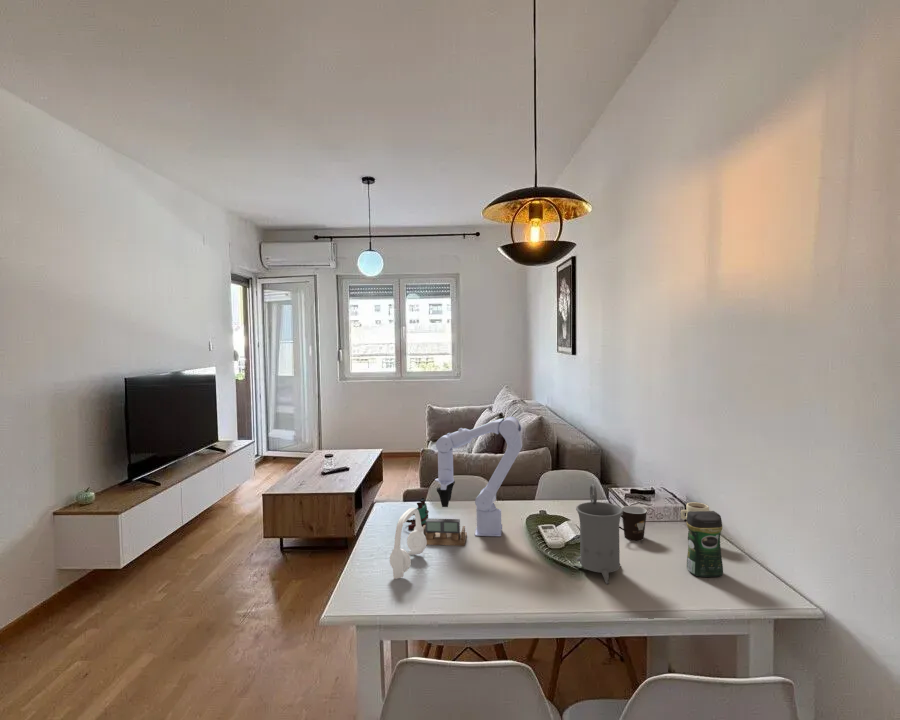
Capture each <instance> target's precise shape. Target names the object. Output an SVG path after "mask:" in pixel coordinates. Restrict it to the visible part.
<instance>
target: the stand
mask: <svg viewBox="0 0 900 720" xmlns="http://www.w3.org/2000/svg"><path fill="white" fill-rule="evenodd" d="M423 530H424V535H425V537H426V540H427V545H428V546H431V545H432V546H434V545H435V546H456V547H457V546H461V547H462V546H463V547H464V546H465V544H466V540H467V535H468V534H467V532H466V526H464V525H463V526H462V528H461V530H460V533H431V532H426V525H423ZM427 545H426V546H427Z"/></svg>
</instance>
